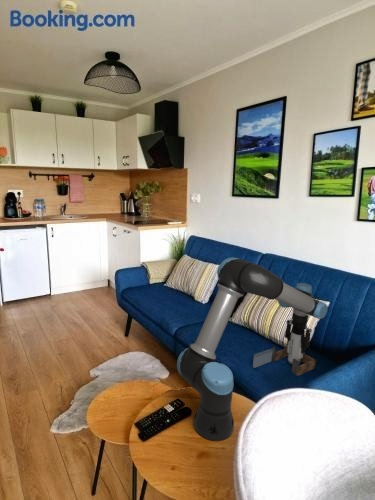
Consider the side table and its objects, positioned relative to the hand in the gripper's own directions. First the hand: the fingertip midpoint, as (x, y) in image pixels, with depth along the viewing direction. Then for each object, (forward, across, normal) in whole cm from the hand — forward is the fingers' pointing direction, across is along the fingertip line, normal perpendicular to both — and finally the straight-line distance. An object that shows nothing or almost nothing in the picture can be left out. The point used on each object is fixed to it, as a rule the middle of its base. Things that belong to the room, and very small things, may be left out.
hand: (294, 354), depth 167 cm
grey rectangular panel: (+5, +8, +16) cm, 18 cm away
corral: (+5, 0, 0) cm, 5 cm away
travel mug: (+4, 0, 0) cm, 4 cm away
